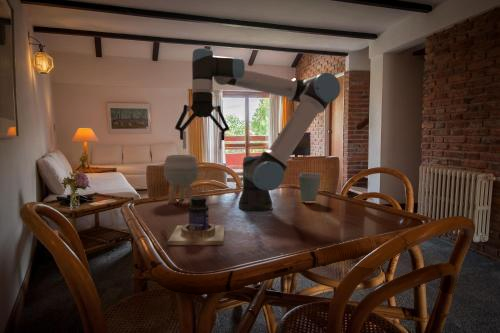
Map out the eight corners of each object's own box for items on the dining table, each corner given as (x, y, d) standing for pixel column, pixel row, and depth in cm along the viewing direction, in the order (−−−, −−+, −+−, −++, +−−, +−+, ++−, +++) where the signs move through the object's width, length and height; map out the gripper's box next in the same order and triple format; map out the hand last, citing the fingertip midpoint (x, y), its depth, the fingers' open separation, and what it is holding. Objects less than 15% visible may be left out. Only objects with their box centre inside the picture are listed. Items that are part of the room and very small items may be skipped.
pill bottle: (210, 234, 97) (210, 199, 96) (190, 236, 95) (190, 200, 94) (206, 228, 103) (206, 195, 102) (187, 230, 101) (187, 196, 100)
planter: (182, 197, 162) (182, 154, 160) (205, 201, 153) (205, 155, 151) (157, 202, 149) (156, 155, 147) (180, 206, 140) (179, 156, 138)
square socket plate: (224, 228, 107) (224, 220, 107) (223, 244, 92) (223, 234, 91) (177, 228, 107) (177, 220, 106) (167, 244, 91) (167, 234, 90)
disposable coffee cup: (297, 200, 158) (298, 170, 157) (319, 201, 157) (320, 171, 155) (298, 204, 148) (299, 173, 146) (321, 205, 146) (322, 173, 145)
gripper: (235, 94, 122) (235, 148, 124) (170, 93, 120) (171, 148, 122) (235, 91, 114) (235, 149, 116) (166, 90, 113) (167, 148, 115)
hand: (202, 149), depth 119 cm, fingers open, 13 cm apart
